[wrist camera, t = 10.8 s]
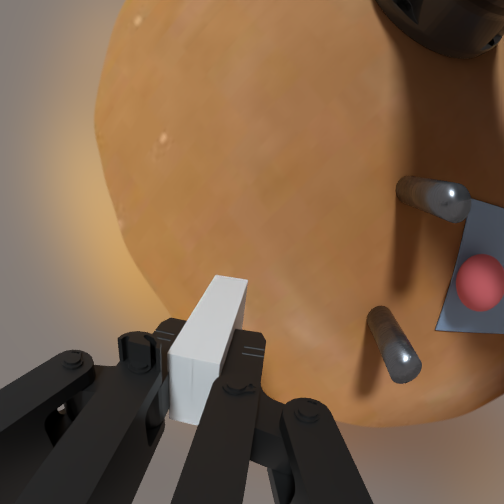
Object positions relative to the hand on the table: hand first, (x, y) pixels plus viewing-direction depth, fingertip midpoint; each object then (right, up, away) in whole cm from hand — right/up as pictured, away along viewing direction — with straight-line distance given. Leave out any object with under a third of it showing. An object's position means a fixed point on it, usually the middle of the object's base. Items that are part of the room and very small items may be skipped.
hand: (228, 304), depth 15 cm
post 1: (+14, -4, +15) cm, 20 cm away
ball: (+23, 0, +10) cm, 25 cm away
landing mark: (+28, 0, +12) cm, 31 cm away
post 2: (+15, +8, +11) cm, 20 cm away
